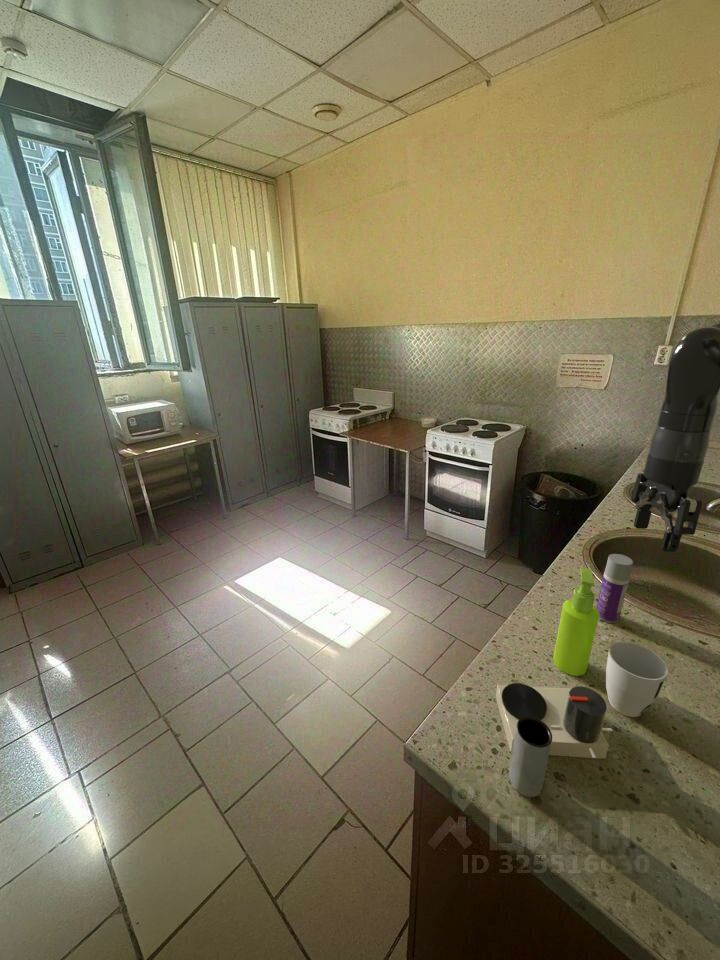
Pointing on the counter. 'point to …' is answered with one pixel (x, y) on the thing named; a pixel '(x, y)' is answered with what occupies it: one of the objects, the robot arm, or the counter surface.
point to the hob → (554, 726)
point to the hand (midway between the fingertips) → (653, 538)
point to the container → (614, 587)
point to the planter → (530, 756)
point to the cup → (633, 677)
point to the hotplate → (523, 701)
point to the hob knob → (584, 714)
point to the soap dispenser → (577, 628)
